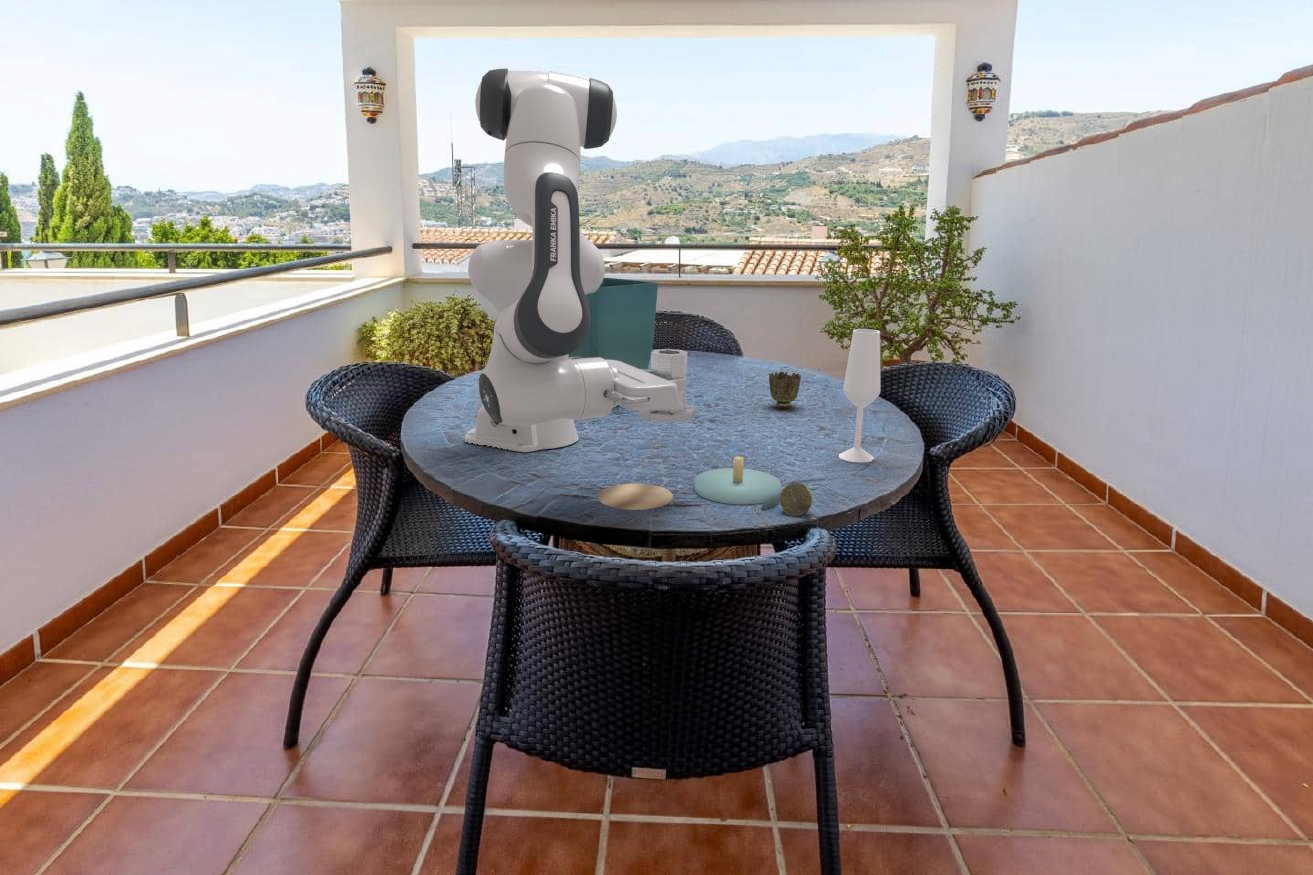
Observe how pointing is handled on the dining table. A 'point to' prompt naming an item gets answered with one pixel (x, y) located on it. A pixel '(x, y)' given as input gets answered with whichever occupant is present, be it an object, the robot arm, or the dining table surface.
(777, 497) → the hub
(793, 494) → the lime
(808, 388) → the dining table surface
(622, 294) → the flower pot
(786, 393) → the cup
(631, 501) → the stand
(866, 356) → the champagne flute
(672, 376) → the sleeve
